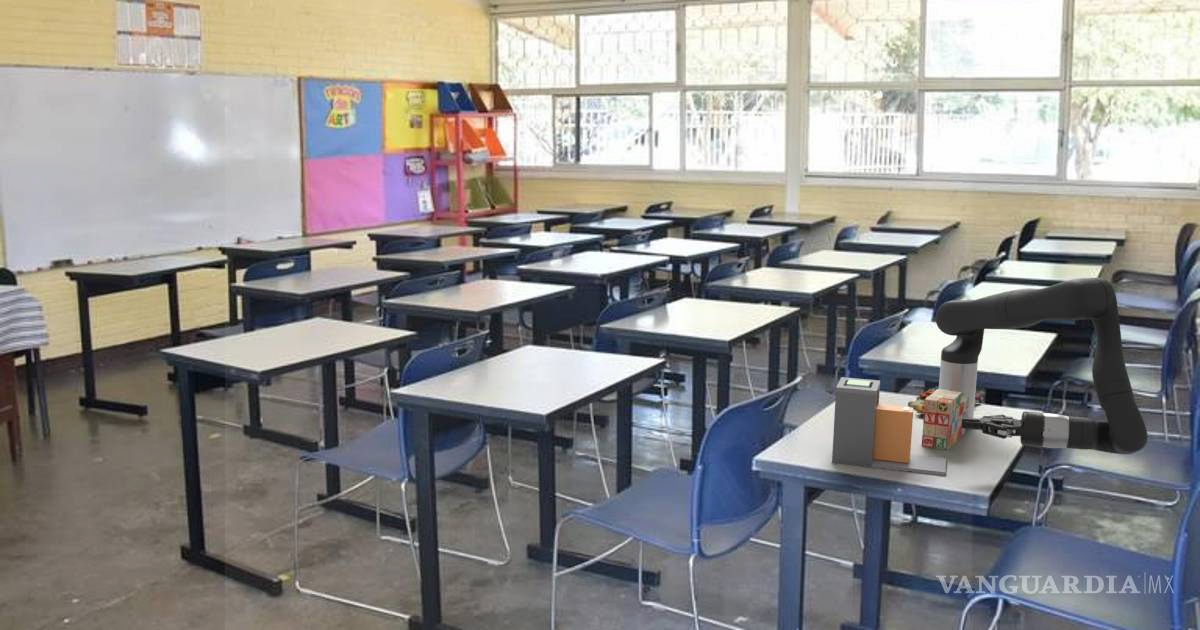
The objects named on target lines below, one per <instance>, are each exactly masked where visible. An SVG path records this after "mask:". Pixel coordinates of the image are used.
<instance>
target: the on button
mask: <svg viewBox="0 0 1200 630" xmlns="http://www.w3.org/2000/svg"><path fill="white" fill-rule="evenodd" d="M870 383H871V381H862V380H851V379H849V380H848V382H847V384H846V386H854V387H865V388H870Z"/></svg>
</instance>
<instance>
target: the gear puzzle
mask: <svg viewBox="0 0 1200 630" xmlns="http://www.w3.org/2000/svg"><path fill="white" fill-rule="evenodd" d="M937 389H939V386H935V387H932V388H929V389H928V390H926V391H925V392H921V393H919V395H918V396H916V398H915V399H916V400H915V401H913V400H910V401H908V402H907V405H908V406H909V407H911V408H913V409H914V410H915V411H914V412H916V413H917V414H922V415H924V406H925V399H926V398H927V397H929V396H930V395H931V394H932V393H934V392H935V391H936V390H937ZM983 399H984V397H983V395H982V394H981V393H979V392H977V391H976V392H975V404H974V406H975V405H976V404H979V401H983Z"/></svg>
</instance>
